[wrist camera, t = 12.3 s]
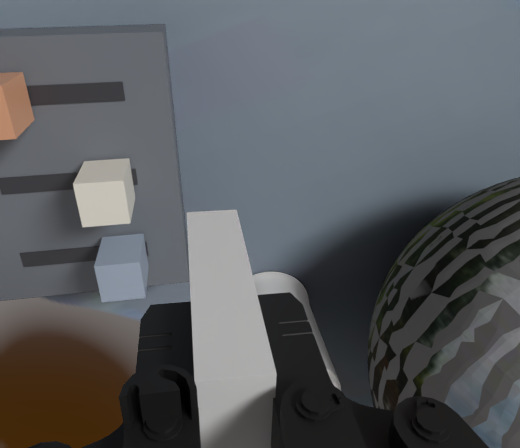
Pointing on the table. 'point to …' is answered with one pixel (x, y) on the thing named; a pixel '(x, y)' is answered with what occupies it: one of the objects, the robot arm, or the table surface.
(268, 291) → the mug
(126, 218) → the slider ivory
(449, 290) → the decorative globe
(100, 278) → the block
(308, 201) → the table surface
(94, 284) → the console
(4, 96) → the slider terracotta
